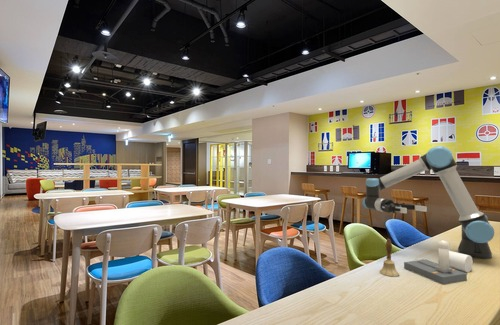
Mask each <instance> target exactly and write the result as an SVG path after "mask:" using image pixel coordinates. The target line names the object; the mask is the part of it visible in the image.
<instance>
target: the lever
mask: <svg viewBox="0 0 500 325" xmlns="http://www.w3.org/2000/svg"><path fill="white" fill-rule="evenodd" d="M437 247H438V248H437V249H438V251H437V252H438V253H437V254H438V258H437V259H438V261H437V263H438V266H436V270H438V271H440V272H443V273H446V272H452V269H453V268H450V267H449V251H450V247H451V246H450V243H449V242H448V241H447V240H443V239H441V240H439V241H438V242H437Z"/></svg>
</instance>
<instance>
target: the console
mask: <svg viewBox="0 0 500 325" xmlns="http://www.w3.org/2000/svg"><path fill="white" fill-rule="evenodd" d="M436 266H438V262H435V261H432V260H429V259H419V260H418V259H417V260H412V261H411V260H410V261H409V260H408V261H404V262H403V269H404V270H408V271H409V272H412V273H414V274H416V275H419V276H421V277H424V278H425V279H429V280H431V281H434V282H435V283H438V284H441V285H447V284H453V283H460V282H466V281H467V280H468V279H467V278H468V274H467V272H464V271H460V270H457V269H453V268H452V272H446V273H443V272H440V271H438V270H436Z"/></svg>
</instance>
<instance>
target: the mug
mask: <svg viewBox="0 0 500 325" xmlns="http://www.w3.org/2000/svg"><path fill="white" fill-rule="evenodd" d="M473 265H474V262H473V257H471V256H470V255H466V254H461V253H458V251H452V250H449V267H450V268H452V269H455V270H458V271H461V272H464V273H470V272H471V271H472V269H473Z"/></svg>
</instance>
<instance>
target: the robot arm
mask: <svg viewBox="0 0 500 325" xmlns="http://www.w3.org/2000/svg"><path fill="white" fill-rule="evenodd" d="M455 160H456V159H454V156H453V152H452V150H450V149H449V148H448V147H445V146H443V145H437V146H434V147H431V148H430V149H429V150H427V152H426V153H425V154H423V155H421V156H419V158H418V159H416V160H414V161H413V162H410V163H408V164H406V165H404V166H402V167H400V168H398V169H395V170H394V171H392V172H389V173H387V174H385V175H383V176H380V177H379V178H376V177H375V178H372V177H371V178H366V180H365V197H364V198H363V200H362V206H363V208H364V209H367V210H372V211H378V212H381V213H383V212H384V213H392V214H395V213H400V214H408V211H407V210H412V211H418V212H423V213H424V212H425V213H427V211H428V209H427V206H424V205H419V204H418V203H415V204H408V203H398V202H394V201H393V200H391V199H388V198H380V191H381V192H382V191H383V190H385V189H387V188H389V187H391V186H394V185H396V184H398V183H400V182H402V181H405V180H407V179H409V178H412V177H413V176H416V175H418V174H420V173H423V172H425V171H432V172H433V174H434V175H437V176H438V177H439V179H440V181H441V183H442V184H443V186H444V188H445V190H446V192H447V194H448V196H449V199H450V201H451V202H452V203H453V205H454V207H455V210H457V213H458V214H459V218H458V221H459V223H460V225H461V240H460V243H459V244H458V247H457V253H461V254H466V255H470V256H471V257H472V258H476V259H488V260H489V259H492V258H493V252H492V250H491V248H490V244H489V242H490V241H492V240H493V238H494V236H495V229H494V226H493V225H491V224H490V221H489V219H488V216H487V215H486V214H485V213H484V212H482V211H480V210H479V209H478V207H477V205H476V204H475V202H474V200H473V198H472V196H471V194H470V192H469V191H468V189H467V187H466V185H465V184H464V181H463V180H462V178H461V177H460V174H459V173H458V170H457V167H458V164H457V161H455Z"/></svg>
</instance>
